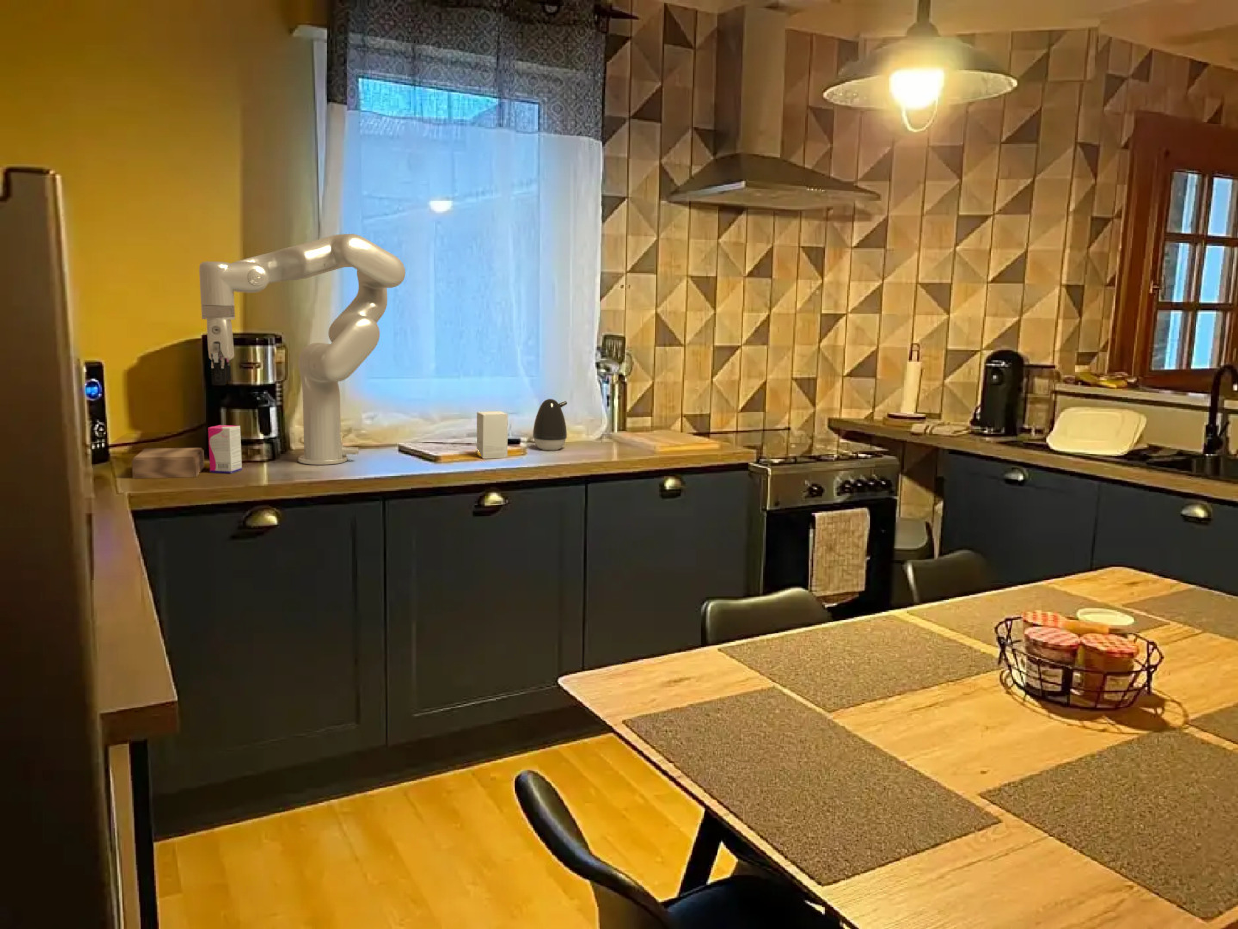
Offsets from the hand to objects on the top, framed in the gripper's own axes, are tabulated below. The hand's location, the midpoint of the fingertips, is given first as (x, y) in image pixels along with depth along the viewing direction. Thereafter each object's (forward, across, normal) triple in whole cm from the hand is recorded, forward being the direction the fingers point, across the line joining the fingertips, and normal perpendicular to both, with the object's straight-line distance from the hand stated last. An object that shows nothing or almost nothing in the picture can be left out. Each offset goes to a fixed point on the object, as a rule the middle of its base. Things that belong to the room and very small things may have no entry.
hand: (221, 383), depth 239 cm
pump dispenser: (+23, +26, -88) cm, 95 cm away
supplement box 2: (+23, +15, -69) cm, 74 cm away
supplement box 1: (+22, 0, 0) cm, 22 cm away
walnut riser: (+22, 0, +13) cm, 26 cm away
